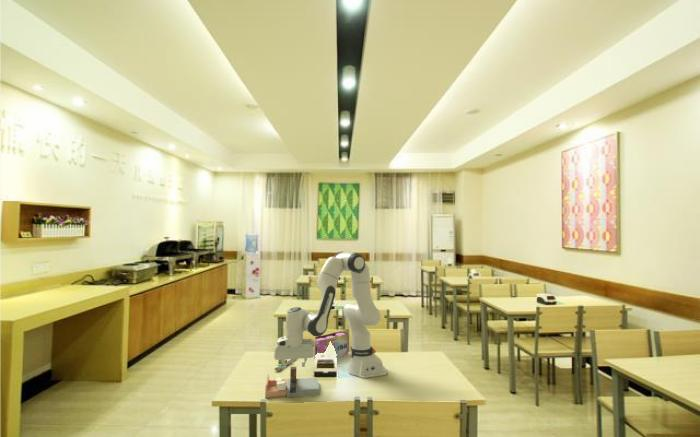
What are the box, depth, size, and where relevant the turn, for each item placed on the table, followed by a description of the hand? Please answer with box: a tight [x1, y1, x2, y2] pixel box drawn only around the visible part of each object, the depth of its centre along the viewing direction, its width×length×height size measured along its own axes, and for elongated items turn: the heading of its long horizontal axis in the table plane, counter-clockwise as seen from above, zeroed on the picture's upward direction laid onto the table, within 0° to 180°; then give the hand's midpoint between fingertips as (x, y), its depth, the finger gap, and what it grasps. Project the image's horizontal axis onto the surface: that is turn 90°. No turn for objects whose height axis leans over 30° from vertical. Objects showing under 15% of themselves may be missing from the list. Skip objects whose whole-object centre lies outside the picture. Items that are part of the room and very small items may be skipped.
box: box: [264, 374, 287, 399], centre depth 174 cm, size 10×13×6 cm
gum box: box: [313, 330, 349, 359], centre depth 224 cm, size 24×8×14 cm, turn 132°
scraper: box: [289, 366, 297, 393], centre depth 175 cm, size 3×18×8 cm, turn 9°
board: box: [286, 377, 320, 398], centre depth 176 cm, size 16×13×3 cm
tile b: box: [277, 381, 287, 391], centre depth 171 cm, size 4×4×3 cm
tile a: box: [275, 376, 283, 389], centre depth 178 cm, size 4×4×3 cm
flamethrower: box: [274, 359, 296, 372], centre depth 211 cm, size 29×3×10 cm
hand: (294, 366), depth 176 cm, fingers open, 8 cm apart
